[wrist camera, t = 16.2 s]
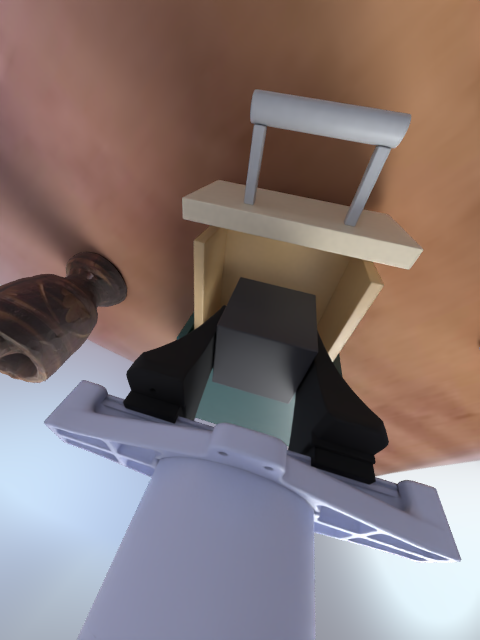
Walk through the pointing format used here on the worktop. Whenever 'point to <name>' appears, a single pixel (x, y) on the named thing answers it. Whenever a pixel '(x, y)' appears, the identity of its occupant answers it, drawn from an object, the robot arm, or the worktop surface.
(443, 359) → the worktop surface
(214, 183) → the drawer
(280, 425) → the cabinet
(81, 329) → the mortar and pestle
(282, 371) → the block
